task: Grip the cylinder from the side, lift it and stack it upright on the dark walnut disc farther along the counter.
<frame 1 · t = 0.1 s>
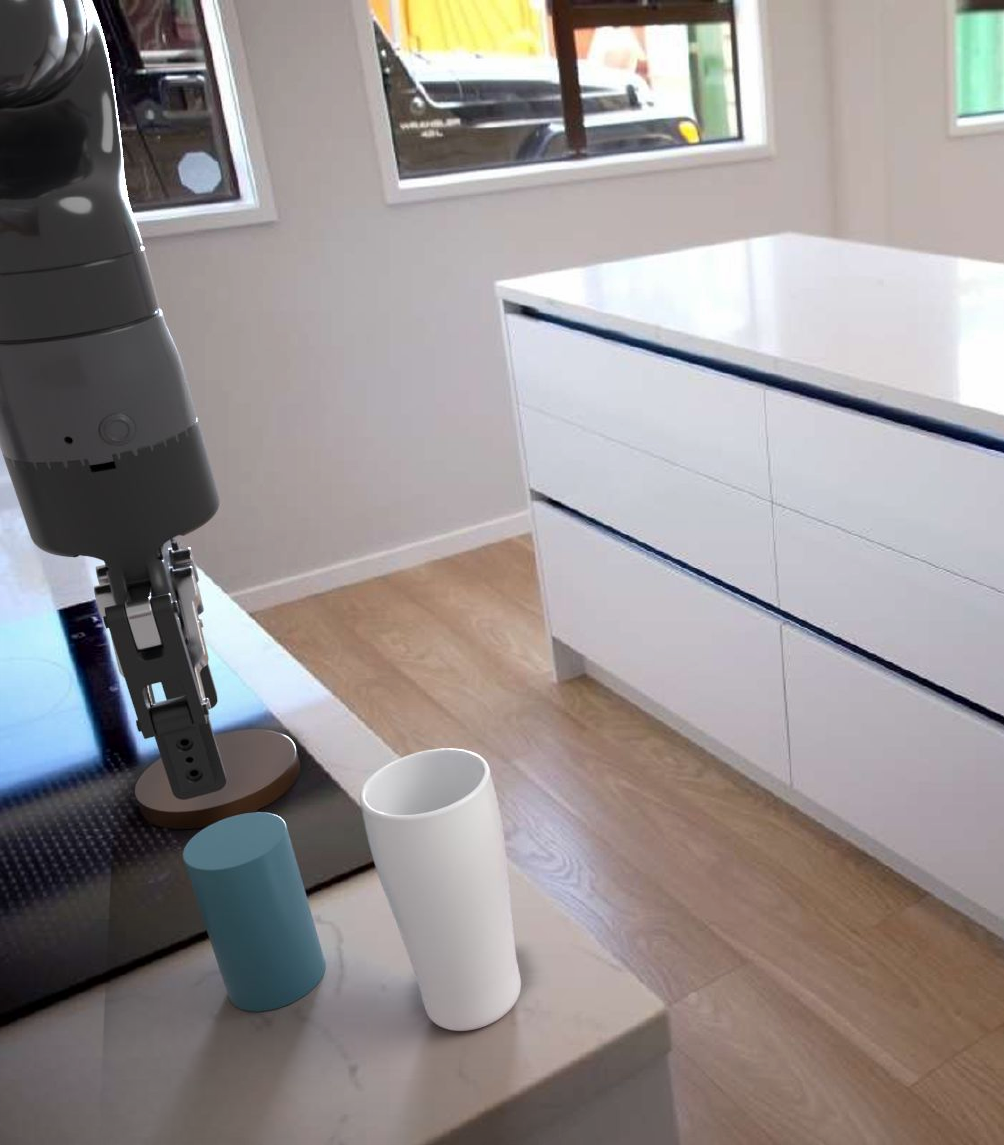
hand: (198, 748, 63), 20 cm above the worktop, tool pointing down, fingers open, 8 cm apart
cylinder: (277, 979, 77), on the worktop
drinking glass: (475, 1004, 75), on the worktop
walnut disc: (222, 785, 97), on the worktop
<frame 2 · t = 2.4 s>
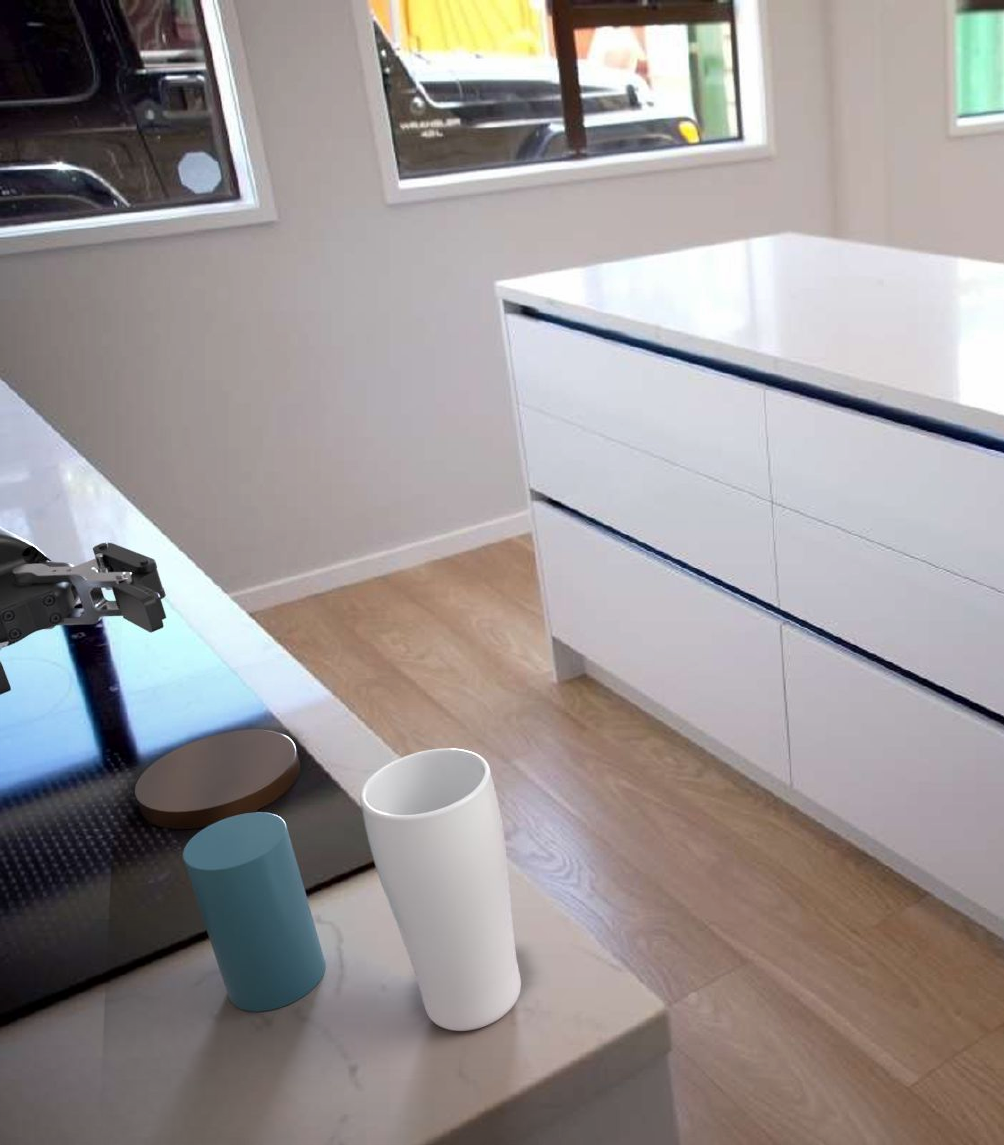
hand: (80, 645, 74), 20 cm above the worktop, tool horizontal, fingers open, 8 cm apart
nothing on the worktop moved.
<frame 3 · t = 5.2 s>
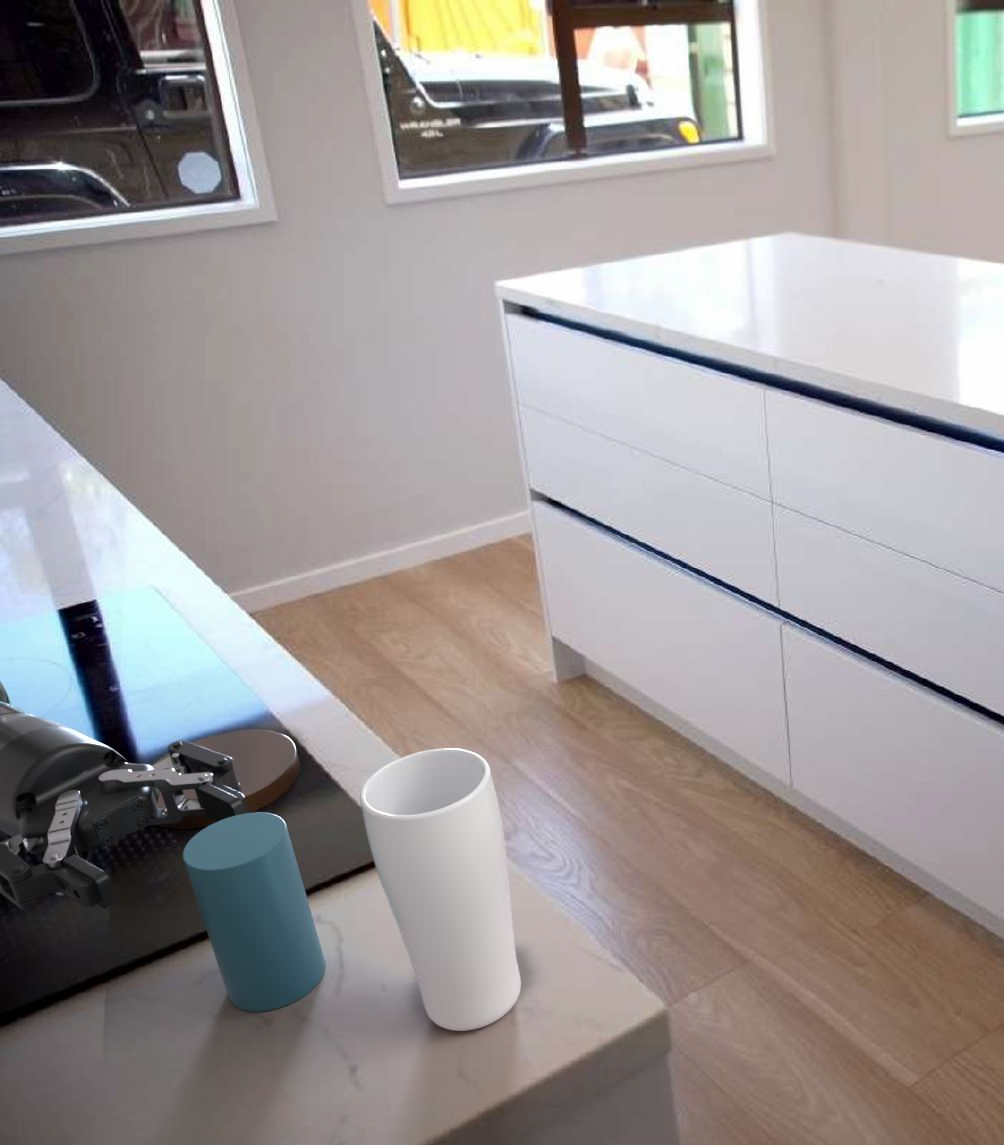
hand: (177, 852, 79), 6 cm above the worktop, tool horizontal, fingers open, 8 cm apart
nothing on the worktop moved.
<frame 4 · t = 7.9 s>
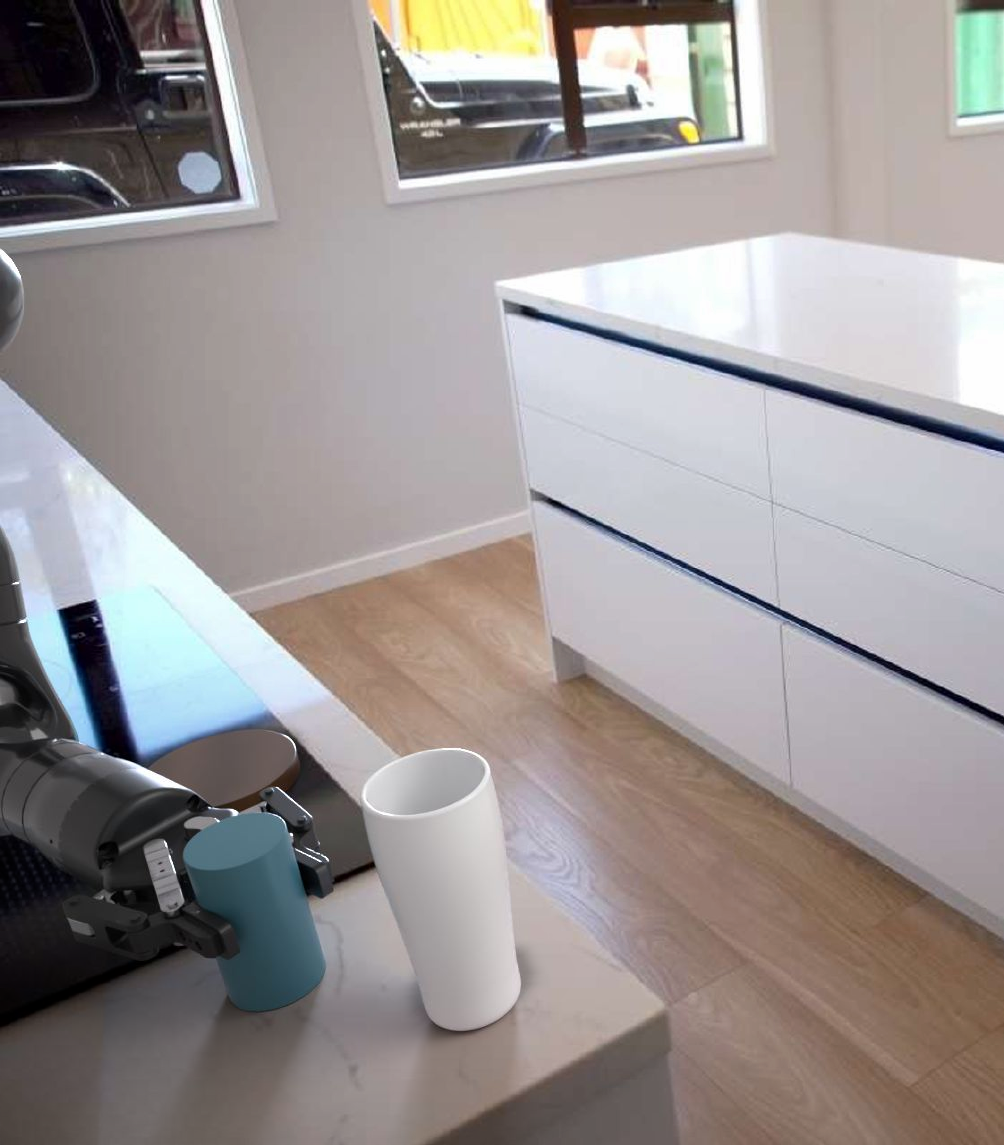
hand: (279, 911, 73), 6 cm above the worktop, tool horizontal, fingers closed on cylinder, 5 cm apart
cylinder: (277, 978, 77), on the worktop, touching gripper
everything else where it was.
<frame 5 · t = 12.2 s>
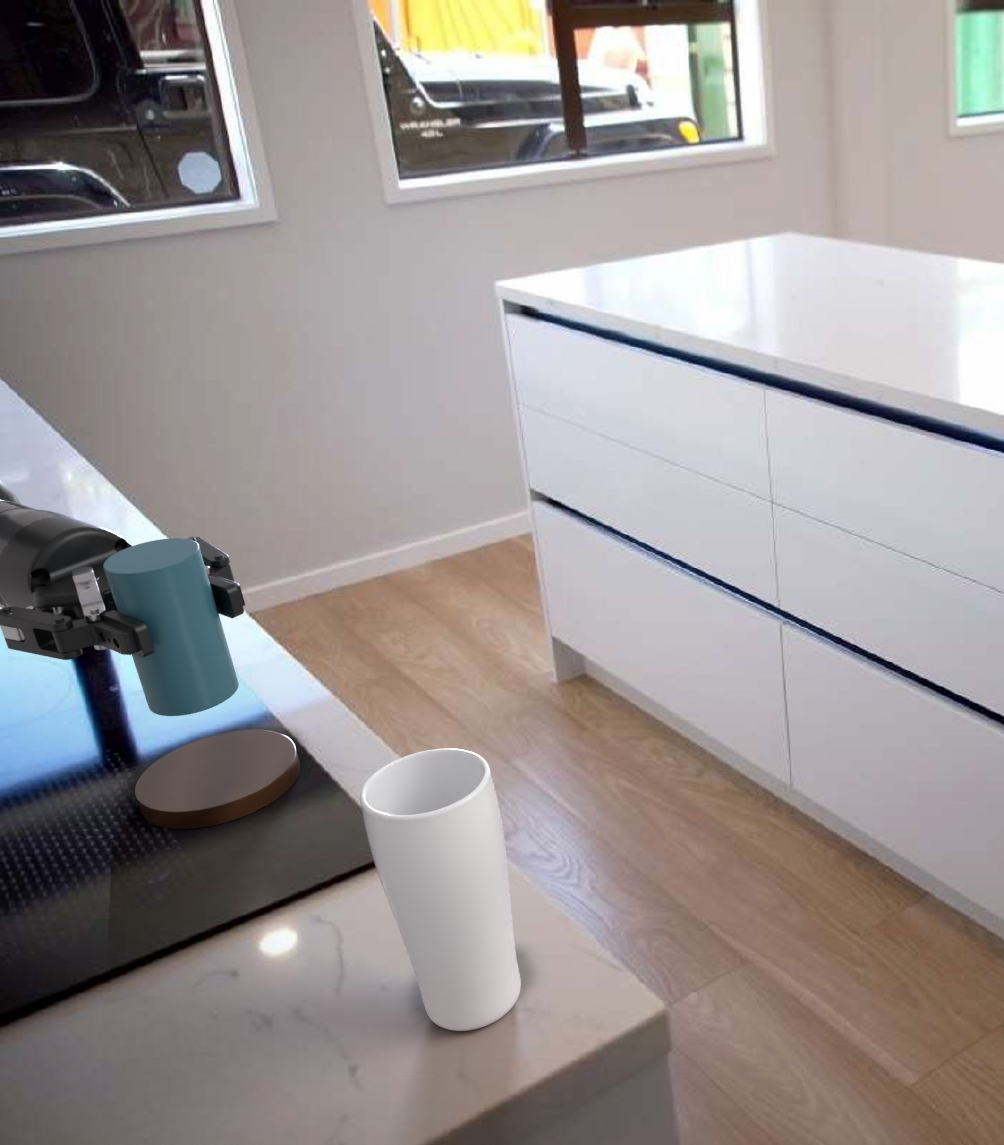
hand: (192, 620, 81), 18 cm above the worktop, tool horizontal, fingers closed on cylinder, 5 cm apart
cylinder: (194, 694, 85), point 12 cm above the worktop, touching gripper
everything else where it was.
when the fingers open (8 cm above the worktop, at t = 16.7 s): cylinder stays where it is, resting on walnut disc.
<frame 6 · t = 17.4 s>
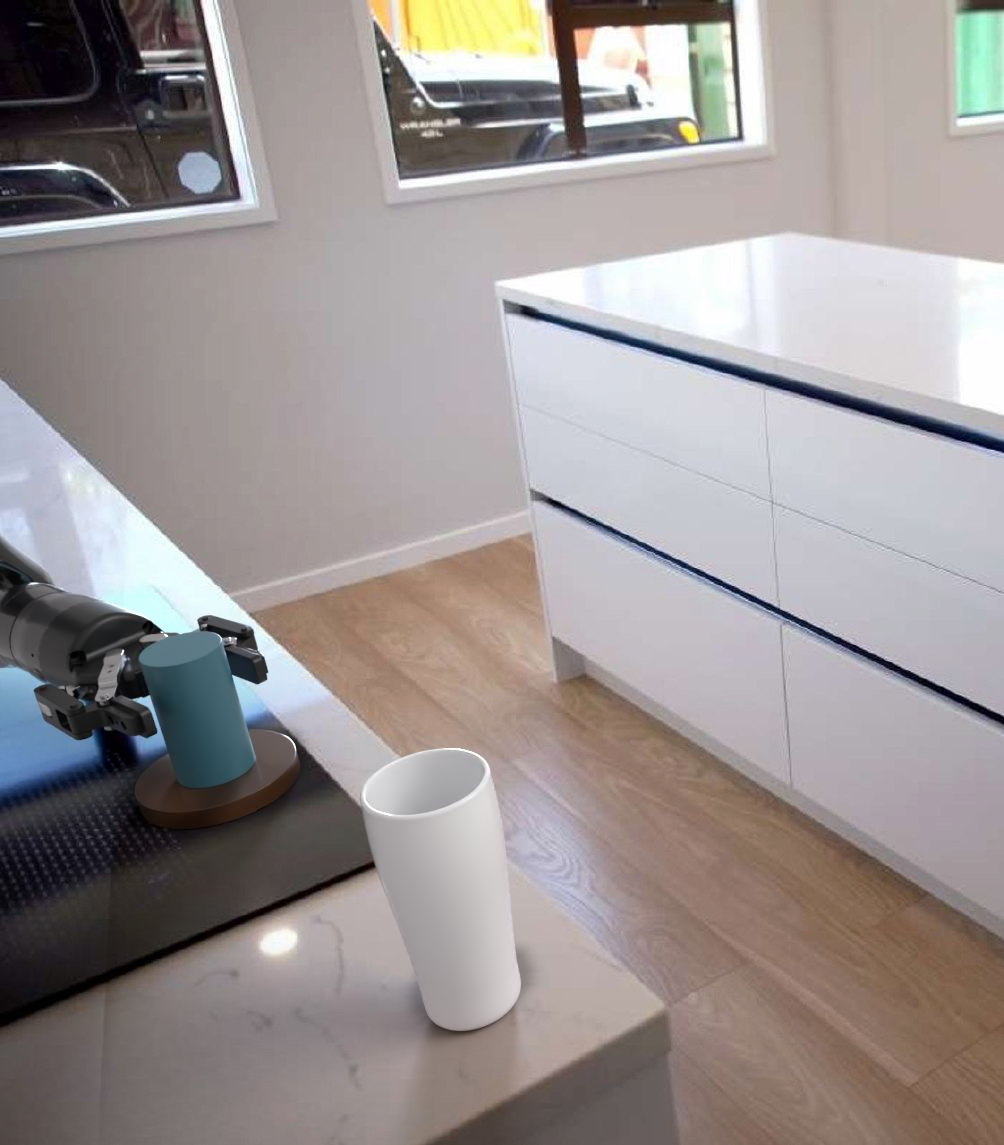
hand: (207, 696, 93), 8 cm above the worktop, tool horizontal, fingers open, 8 cm apart
cylinder: (216, 767, 96), point 1 cm above the worktop, touching walnut disc
everything else where it was.
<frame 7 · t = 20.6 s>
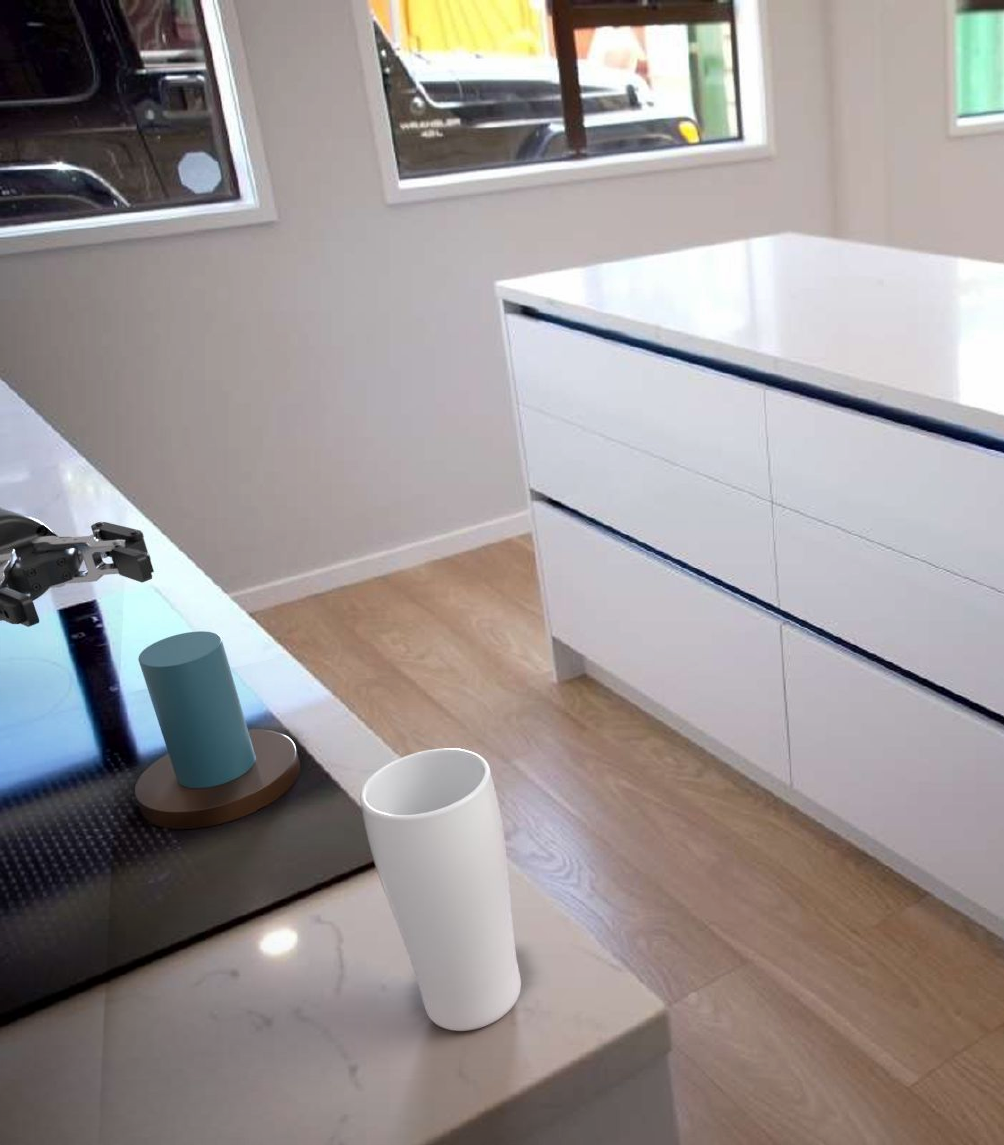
hand: (90, 589, 97), 14 cm above the worktop, tool horizontal, fingers open, 8 cm apart
nothing on the worktop moved.
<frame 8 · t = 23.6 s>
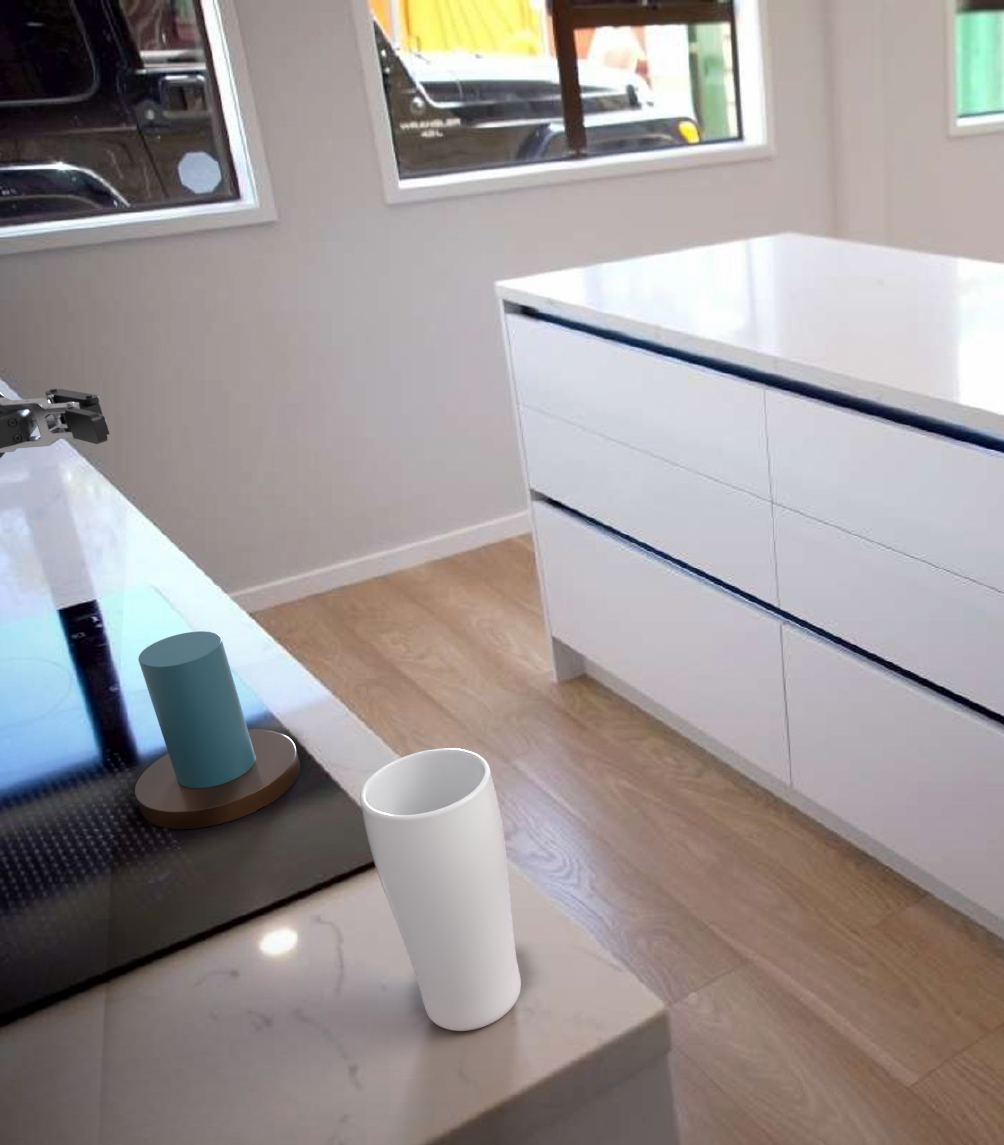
hand: (41, 446, 92), 25 cm above the worktop, tool horizontal, fingers open, 8 cm apart
nothing on the worktop moved.
at the end: cylinder 0.1 cm off-centre on the walnut disc, point 1.5 cm above the walnut disc's base; cylinder tilted 0°; the gripper is holding nothing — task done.
